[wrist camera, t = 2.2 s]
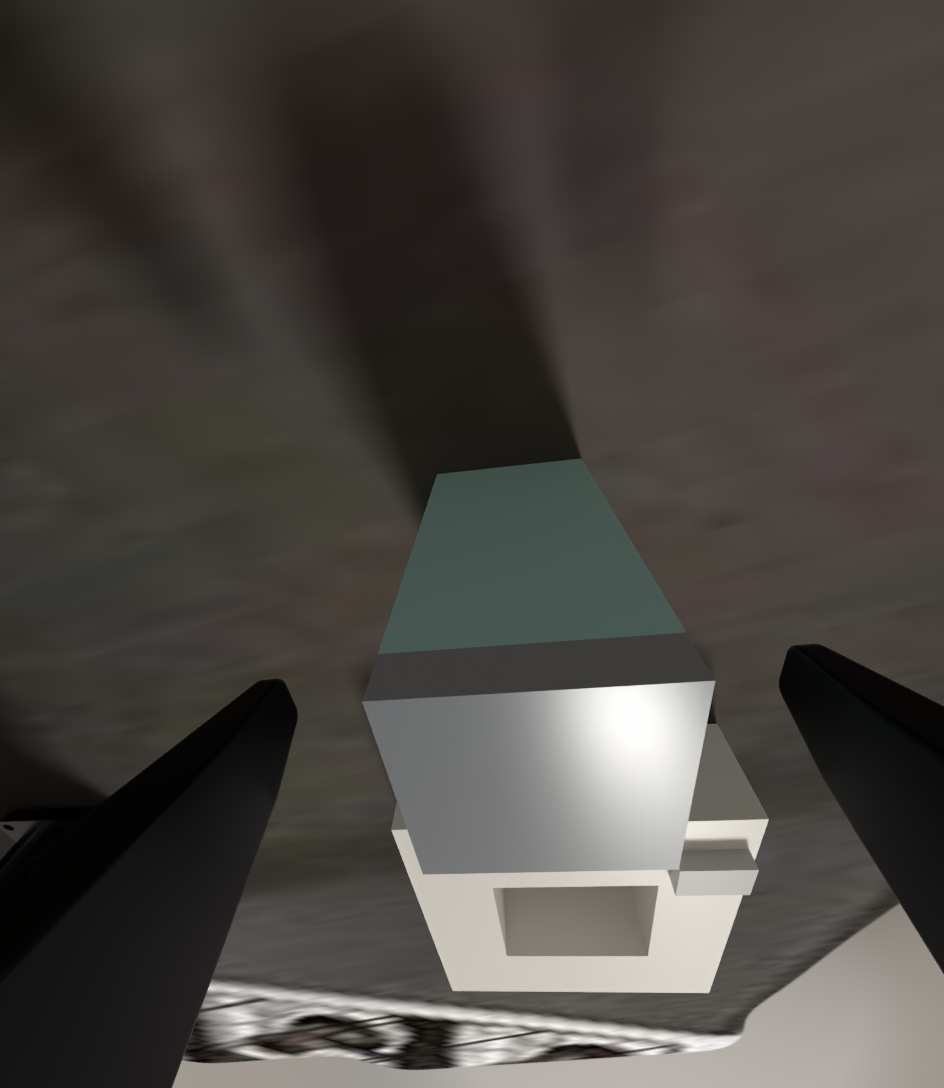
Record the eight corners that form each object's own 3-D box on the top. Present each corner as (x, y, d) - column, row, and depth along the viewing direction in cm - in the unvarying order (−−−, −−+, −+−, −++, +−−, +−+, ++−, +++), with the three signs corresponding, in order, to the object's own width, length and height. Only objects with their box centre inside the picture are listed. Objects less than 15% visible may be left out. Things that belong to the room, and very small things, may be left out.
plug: (457, 591, 14) (422, 874, 7) (437, 474, 12) (362, 702, 5) (581, 580, 14) (678, 869, 7) (581, 458, 12) (715, 680, 5)
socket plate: (457, 903, 24) (451, 1008, 20) (408, 738, 18) (387, 849, 14) (680, 901, 23) (715, 1011, 19) (716, 723, 16) (780, 840, 13)
